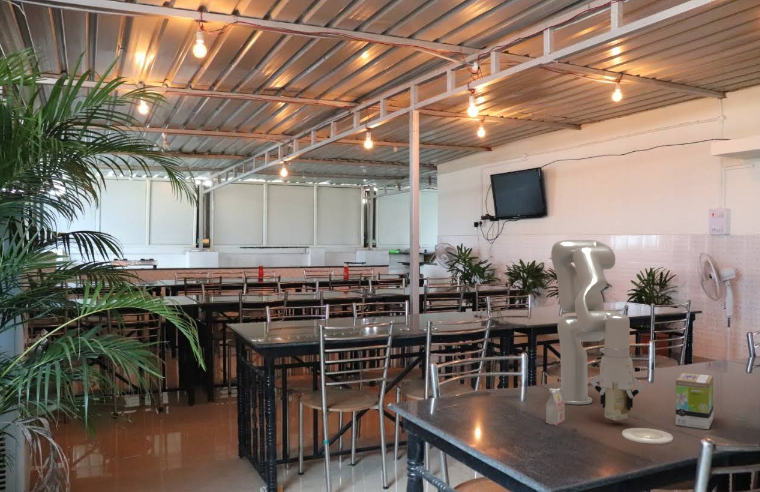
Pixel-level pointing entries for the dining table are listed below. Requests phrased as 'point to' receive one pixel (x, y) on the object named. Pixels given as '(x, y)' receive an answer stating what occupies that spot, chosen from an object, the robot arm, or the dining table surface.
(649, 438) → the saucer
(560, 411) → the white milk carton
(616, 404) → the skincare box
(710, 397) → the tea box
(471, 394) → the dining table surface
